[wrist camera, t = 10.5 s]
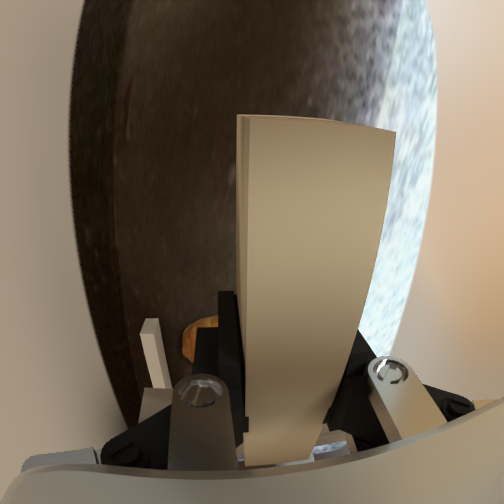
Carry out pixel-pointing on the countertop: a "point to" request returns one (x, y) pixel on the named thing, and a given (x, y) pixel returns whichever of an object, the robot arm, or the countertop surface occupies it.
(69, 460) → the robot arm
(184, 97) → the countertop surface
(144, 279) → the countertop surface
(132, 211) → the countertop surface
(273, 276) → the dough scraper
